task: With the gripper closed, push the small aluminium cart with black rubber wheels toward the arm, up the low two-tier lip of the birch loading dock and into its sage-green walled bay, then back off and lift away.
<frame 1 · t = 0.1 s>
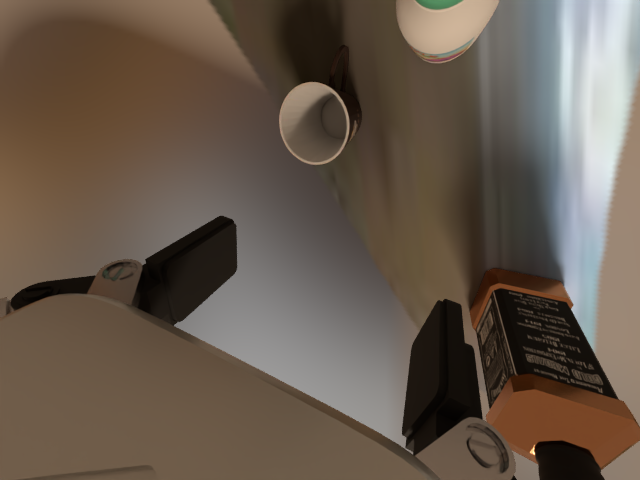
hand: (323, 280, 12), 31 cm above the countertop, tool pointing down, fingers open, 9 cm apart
milk bottle: (445, 22, 29), on the countertop
whiskey bottle: (512, 299, 41), on the countertop
coffee mug: (347, 109, 37), on the countertop
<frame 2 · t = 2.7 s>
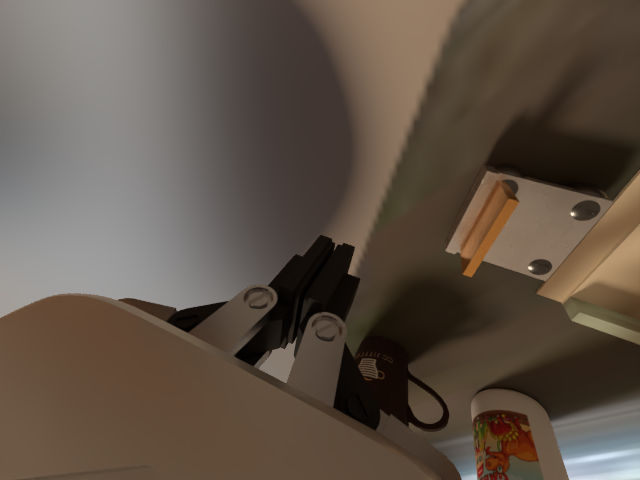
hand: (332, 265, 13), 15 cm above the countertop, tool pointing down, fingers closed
milk bottle: (506, 406, 32), on the countertop
coffee mug: (394, 356, 36), on the countertop
cart: (515, 215, 22), on the countertop
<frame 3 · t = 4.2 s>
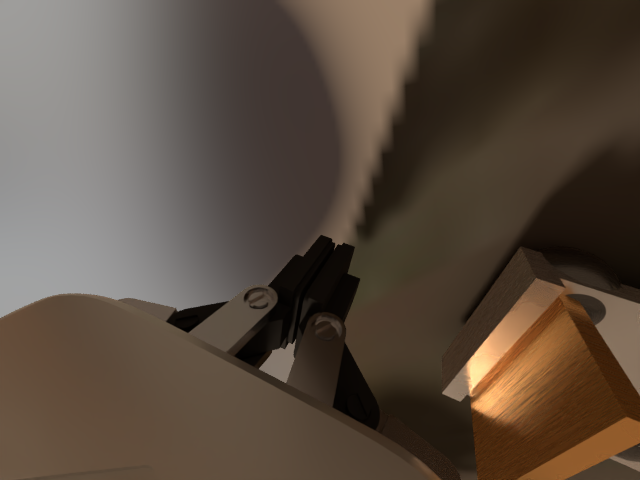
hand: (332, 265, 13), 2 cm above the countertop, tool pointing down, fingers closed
cart: (574, 328, 12), on the countertop
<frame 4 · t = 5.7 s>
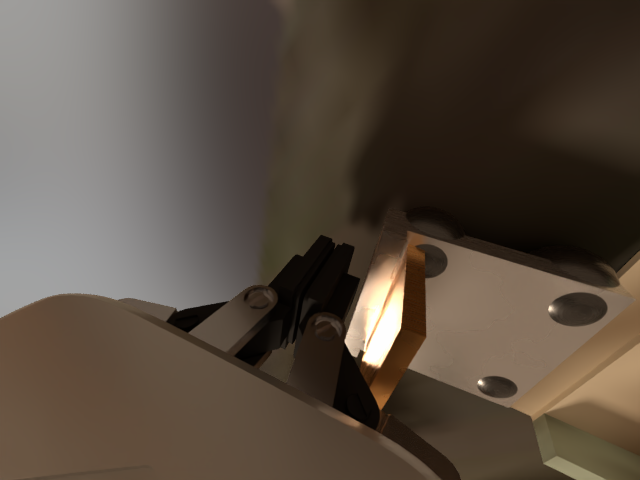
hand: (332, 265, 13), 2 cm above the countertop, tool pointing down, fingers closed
cart: (456, 286, 13), on the countertop, touching gripper
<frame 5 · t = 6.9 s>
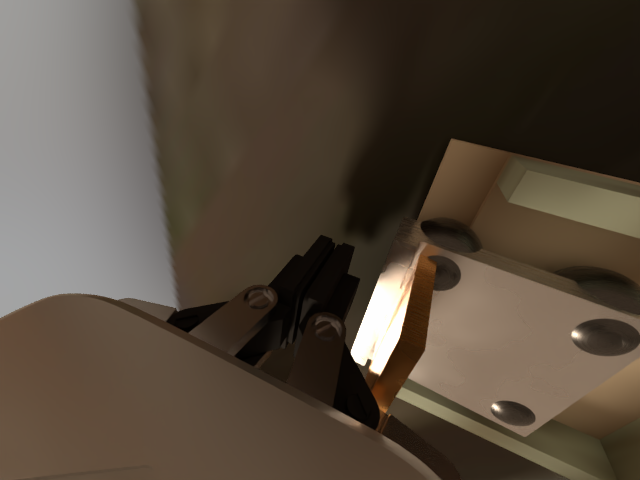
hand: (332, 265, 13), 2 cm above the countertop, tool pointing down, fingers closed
dock: (551, 321, 12), on the countertop
cart: (474, 301, 12), resting on dock, touching gripper
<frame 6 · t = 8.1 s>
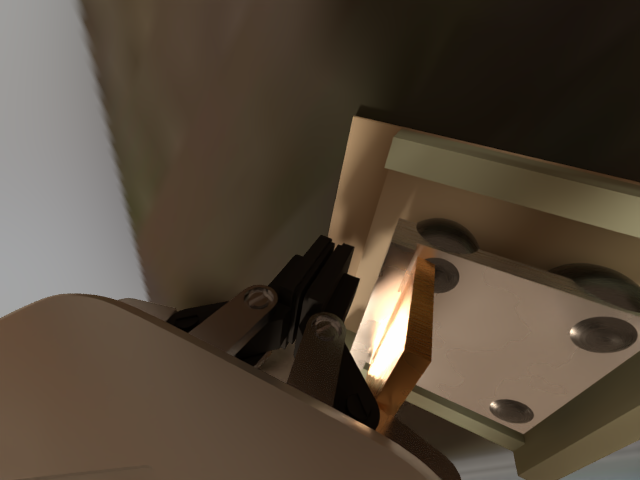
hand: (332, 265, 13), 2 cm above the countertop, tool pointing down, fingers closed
dock: (462, 288, 13), on the countertop
cart: (469, 300, 12), point 1 cm above the countertop, touching dock
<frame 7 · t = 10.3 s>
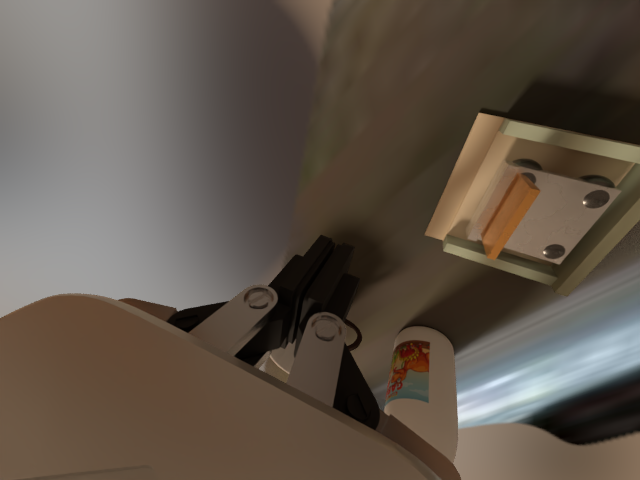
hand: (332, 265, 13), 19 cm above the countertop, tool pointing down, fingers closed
dock: (524, 201, 25), on the countertop
milk bottle: (423, 343, 38), on the countertop
coffee mug: (332, 306, 41), on the countertop
cart: (530, 205, 24), point 1 cm above the countertop, touching dock
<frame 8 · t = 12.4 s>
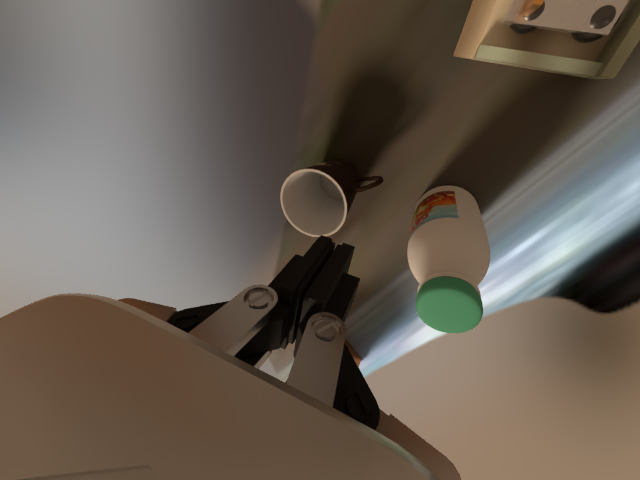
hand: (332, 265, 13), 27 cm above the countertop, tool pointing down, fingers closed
milk bottle: (445, 211, 36), on the countertop
coffee mug: (348, 182, 39), on the countertop
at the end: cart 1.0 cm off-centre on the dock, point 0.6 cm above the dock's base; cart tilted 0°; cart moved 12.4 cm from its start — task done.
